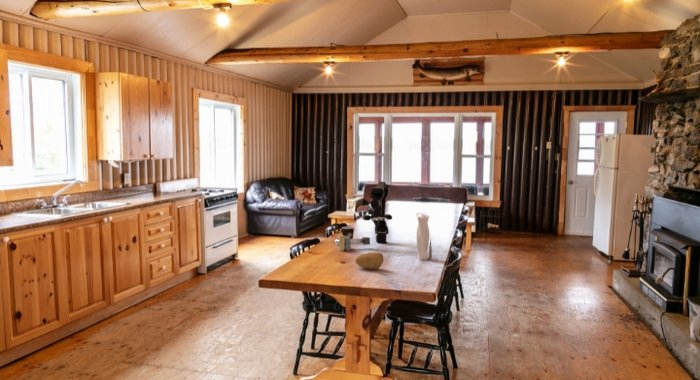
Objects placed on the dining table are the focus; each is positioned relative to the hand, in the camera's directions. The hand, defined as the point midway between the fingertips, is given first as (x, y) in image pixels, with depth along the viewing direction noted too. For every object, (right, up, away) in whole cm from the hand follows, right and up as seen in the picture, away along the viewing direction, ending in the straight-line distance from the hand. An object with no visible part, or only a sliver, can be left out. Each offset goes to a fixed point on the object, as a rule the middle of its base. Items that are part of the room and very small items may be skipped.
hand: (377, 230), depth 306 cm
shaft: (-16, -9, -3) cm, 19 cm away
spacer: (-24, -12, -4) cm, 27 cm away
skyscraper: (+26, -15, -28) cm, 41 cm away
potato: (-7, -17, -51) cm, 54 cm away
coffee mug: (-21, -10, +20) cm, 31 cm away
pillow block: (-20, -12, -3) cm, 24 cm away
